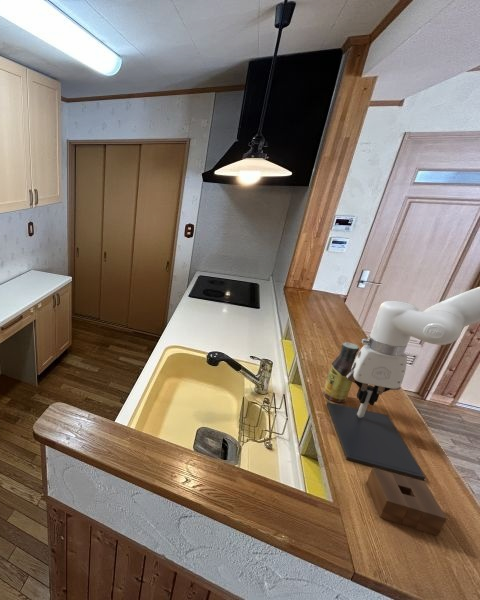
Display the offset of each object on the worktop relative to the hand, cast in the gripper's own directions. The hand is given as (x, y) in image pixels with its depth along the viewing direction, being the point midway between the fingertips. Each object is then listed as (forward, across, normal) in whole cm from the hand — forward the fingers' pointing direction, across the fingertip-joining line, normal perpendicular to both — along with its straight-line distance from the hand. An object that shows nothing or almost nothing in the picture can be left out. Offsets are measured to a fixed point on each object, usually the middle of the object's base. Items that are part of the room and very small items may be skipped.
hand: (365, 401), depth 94 cm
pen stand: (+7, 0, -30) cm, 31 cm away
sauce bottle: (+7, -4, +10) cm, 13 cm away
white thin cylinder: (+6, 0, 0) cm, 6 cm away
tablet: (+7, 0, -7) cm, 10 cm away
